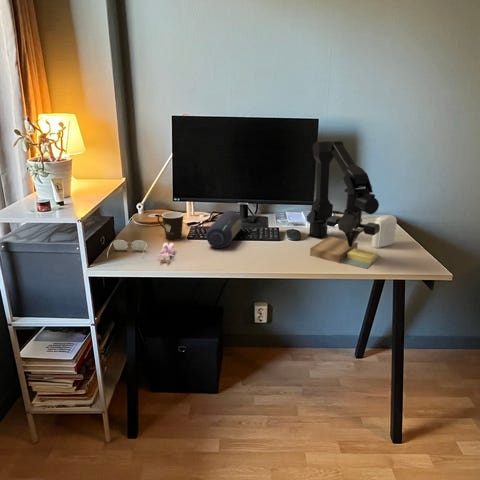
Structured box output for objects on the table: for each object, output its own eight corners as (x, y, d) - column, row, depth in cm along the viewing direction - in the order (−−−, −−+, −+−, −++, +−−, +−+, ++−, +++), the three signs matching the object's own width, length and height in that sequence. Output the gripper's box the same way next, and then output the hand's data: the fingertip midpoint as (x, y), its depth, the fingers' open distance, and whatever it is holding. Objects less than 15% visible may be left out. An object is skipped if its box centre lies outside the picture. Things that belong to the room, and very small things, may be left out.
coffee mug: (187, 238, 192) (187, 215, 188) (168, 242, 187) (167, 219, 184) (175, 231, 201) (174, 208, 197) (156, 234, 196) (155, 212, 193)
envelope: (382, 229, 207) (375, 219, 220) (383, 224, 206) (376, 215, 219) (328, 226, 208) (325, 217, 221) (329, 222, 207) (325, 213, 220)
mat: (340, 262, 169) (340, 261, 169) (355, 250, 180) (356, 250, 180) (366, 268, 164) (366, 268, 164) (381, 256, 174) (381, 256, 174)
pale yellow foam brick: (346, 257, 172) (347, 252, 172) (353, 253, 177) (353, 248, 176) (370, 263, 168) (370, 258, 167) (376, 258, 172) (376, 253, 171)
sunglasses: (148, 251, 179) (147, 240, 177) (143, 263, 172) (141, 251, 170) (113, 250, 180) (111, 239, 178) (106, 262, 173) (104, 250, 171)
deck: (310, 255, 175) (310, 248, 174) (328, 243, 187) (329, 236, 186) (339, 263, 169) (339, 255, 168) (357, 250, 181) (357, 242, 180)
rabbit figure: (173, 268, 167) (177, 246, 180) (172, 254, 164) (176, 233, 177) (155, 268, 167) (161, 246, 180) (154, 254, 164) (160, 233, 177)
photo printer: (386, 241, 191) (390, 212, 186) (395, 244, 187) (399, 214, 183) (369, 245, 185) (372, 216, 181) (378, 249, 182) (381, 219, 178)
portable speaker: (228, 252, 179) (228, 227, 175) (204, 249, 181) (203, 225, 178) (244, 231, 201) (245, 209, 198) (222, 229, 204) (222, 207, 200)
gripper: (320, 207, 167) (317, 247, 172) (370, 216, 156) (366, 259, 162) (334, 200, 175) (331, 239, 181) (382, 209, 165) (377, 249, 170)
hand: (350, 246), depth 173 cm, fingers closed
